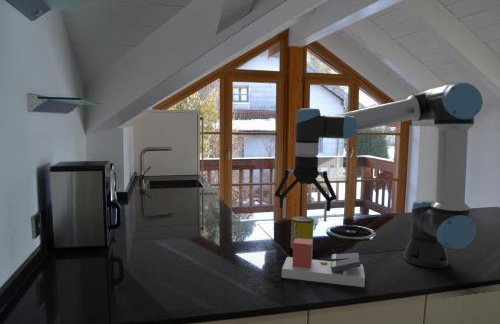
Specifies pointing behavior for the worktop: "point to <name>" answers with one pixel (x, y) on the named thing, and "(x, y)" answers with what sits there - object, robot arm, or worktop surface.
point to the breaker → (345, 264)
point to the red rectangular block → (302, 253)
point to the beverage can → (301, 228)
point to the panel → (324, 273)
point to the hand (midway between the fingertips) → (304, 219)
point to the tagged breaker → (343, 256)
